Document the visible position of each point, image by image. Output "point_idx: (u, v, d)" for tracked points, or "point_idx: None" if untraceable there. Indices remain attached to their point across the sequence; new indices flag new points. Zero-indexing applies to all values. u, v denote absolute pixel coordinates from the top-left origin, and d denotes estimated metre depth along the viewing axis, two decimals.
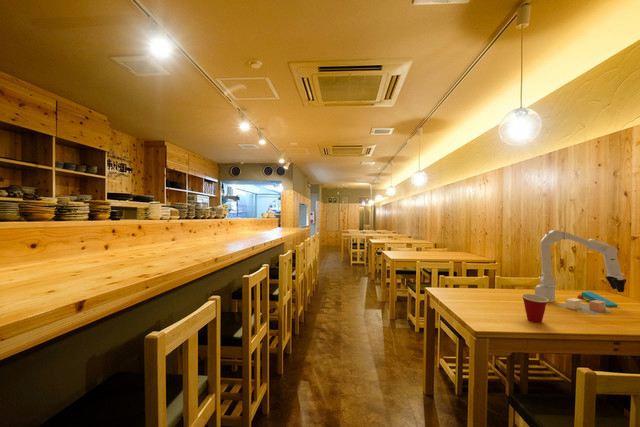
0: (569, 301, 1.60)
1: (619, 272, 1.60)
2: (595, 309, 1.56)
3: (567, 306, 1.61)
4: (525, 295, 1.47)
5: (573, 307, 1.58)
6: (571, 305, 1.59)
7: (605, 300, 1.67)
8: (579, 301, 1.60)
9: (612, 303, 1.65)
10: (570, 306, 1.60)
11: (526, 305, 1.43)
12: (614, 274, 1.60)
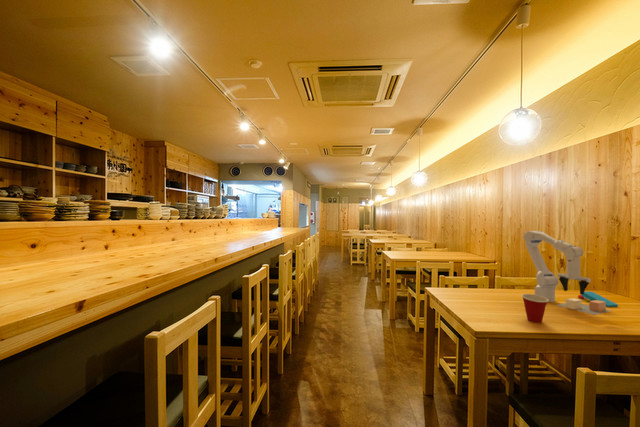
0: (569, 301, 1.60)
1: (567, 273, 1.63)
2: (595, 309, 1.56)
3: (567, 306, 1.61)
4: (525, 295, 1.47)
5: (573, 307, 1.58)
6: (571, 305, 1.59)
7: (605, 300, 1.67)
8: (579, 301, 1.60)
9: (612, 303, 1.64)
10: (570, 306, 1.60)
11: (526, 305, 1.43)
12: None
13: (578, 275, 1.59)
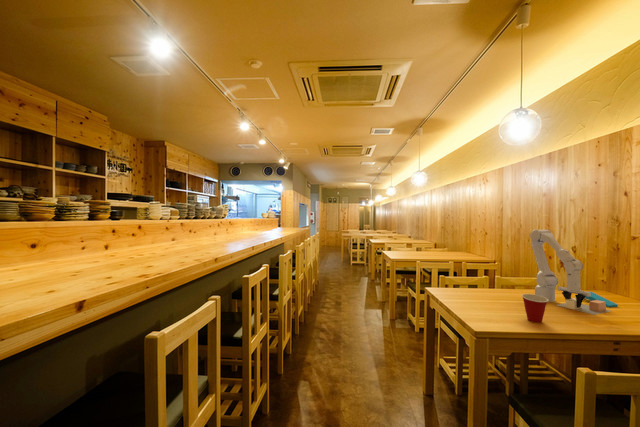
0: (569, 301, 1.60)
1: (567, 287, 1.63)
2: (595, 309, 1.56)
3: (567, 306, 1.61)
4: (525, 295, 1.47)
5: (573, 307, 1.58)
6: (571, 305, 1.59)
7: (605, 301, 1.67)
8: None
9: (612, 303, 1.64)
10: (570, 306, 1.60)
11: (526, 305, 1.43)
12: None
13: (578, 289, 1.59)
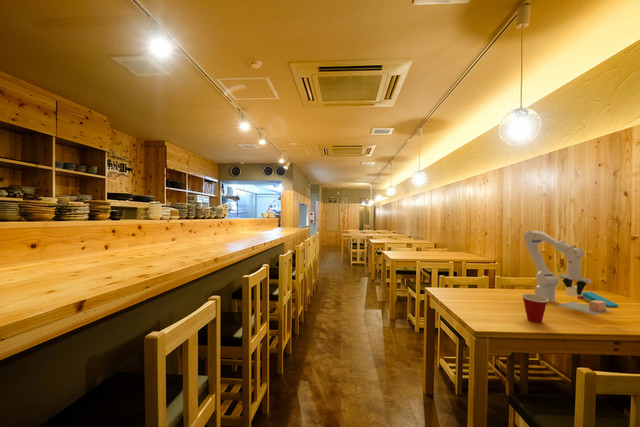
0: (570, 288, 1.60)
1: None
2: (595, 309, 1.56)
3: (568, 294, 1.61)
4: (525, 295, 1.47)
5: (574, 294, 1.58)
6: (572, 292, 1.59)
7: (605, 301, 1.66)
8: None
9: (613, 303, 1.64)
10: (571, 293, 1.60)
11: (526, 305, 1.43)
12: None
13: (579, 276, 1.58)
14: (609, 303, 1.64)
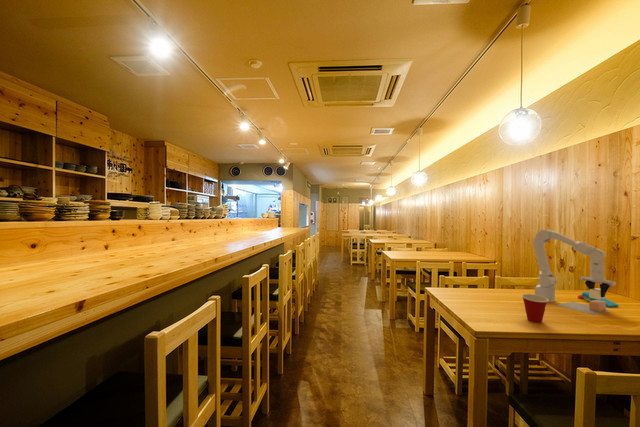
0: (593, 291, 1.57)
1: (590, 276, 1.59)
2: (595, 309, 1.56)
3: (591, 296, 1.58)
4: (525, 295, 1.47)
5: (597, 297, 1.55)
6: (595, 294, 1.56)
7: (605, 301, 1.66)
8: None
9: (613, 303, 1.64)
10: (594, 296, 1.56)
11: (526, 305, 1.43)
12: None
13: (602, 278, 1.55)
14: (609, 303, 1.64)
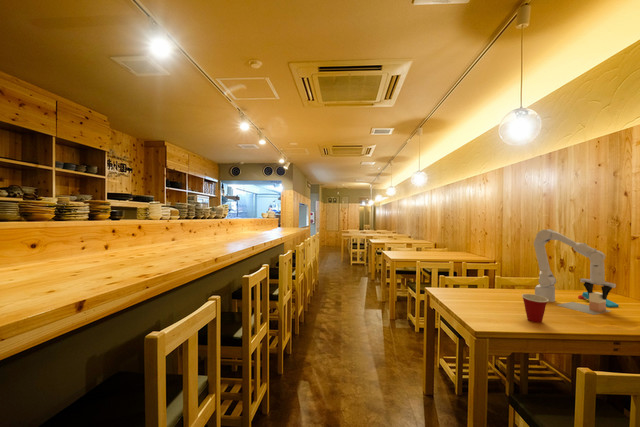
0: (593, 295, 1.57)
1: (590, 278, 1.59)
2: (595, 309, 1.56)
3: (591, 300, 1.58)
4: (525, 295, 1.47)
5: (597, 301, 1.55)
6: (595, 298, 1.56)
7: (606, 301, 1.66)
8: None
9: (613, 303, 1.64)
10: (594, 300, 1.56)
11: (526, 305, 1.43)
12: None
13: (602, 280, 1.55)
14: (609, 303, 1.64)
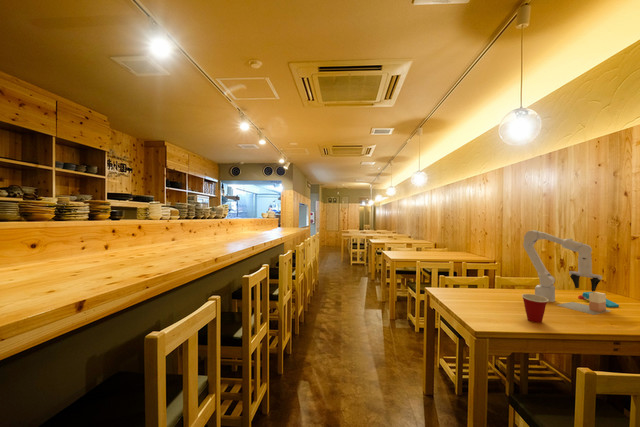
0: (593, 295, 1.57)
1: (578, 270, 1.65)
2: (595, 309, 1.56)
3: (591, 300, 1.58)
4: (525, 295, 1.47)
5: (597, 301, 1.55)
6: (595, 298, 1.56)
7: (606, 301, 1.66)
8: (603, 295, 1.56)
9: (614, 303, 1.64)
10: (594, 300, 1.56)
11: (526, 305, 1.43)
12: None
13: (589, 272, 1.61)
14: (610, 303, 1.64)
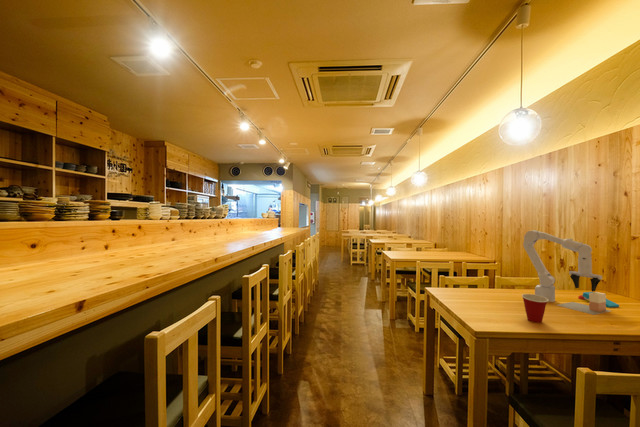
0: (593, 295, 1.57)
1: (578, 270, 1.65)
2: (595, 309, 1.56)
3: (591, 300, 1.58)
4: (525, 295, 1.47)
5: (597, 301, 1.55)
6: (595, 298, 1.56)
7: (606, 301, 1.66)
8: (603, 295, 1.56)
9: (614, 304, 1.64)
10: (594, 300, 1.56)
11: (526, 305, 1.43)
12: None
13: (589, 272, 1.61)
14: (610, 303, 1.64)
